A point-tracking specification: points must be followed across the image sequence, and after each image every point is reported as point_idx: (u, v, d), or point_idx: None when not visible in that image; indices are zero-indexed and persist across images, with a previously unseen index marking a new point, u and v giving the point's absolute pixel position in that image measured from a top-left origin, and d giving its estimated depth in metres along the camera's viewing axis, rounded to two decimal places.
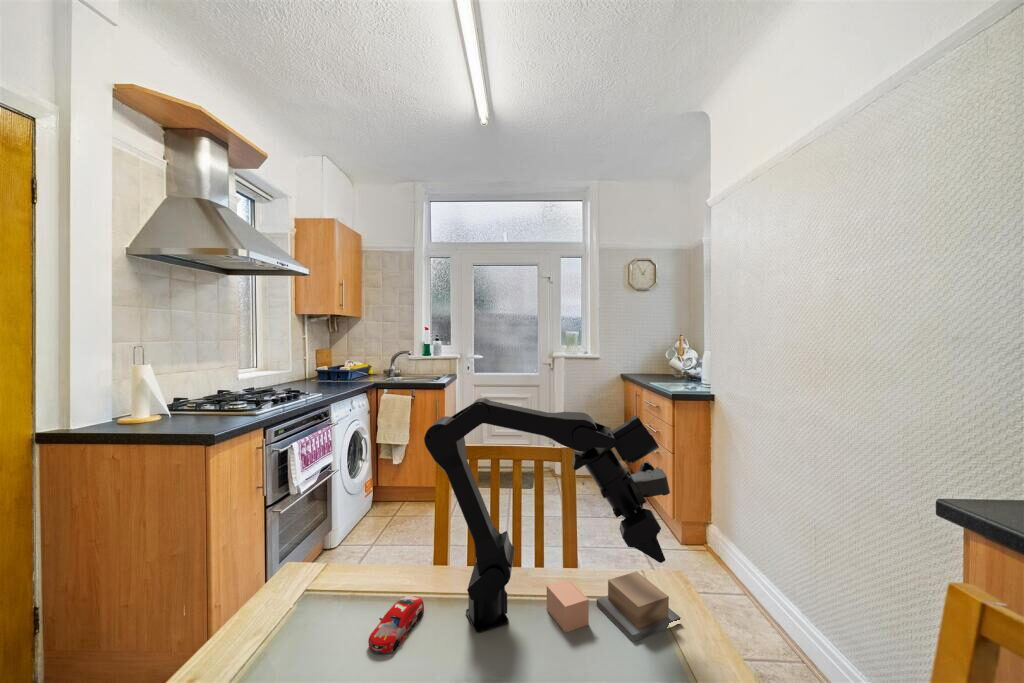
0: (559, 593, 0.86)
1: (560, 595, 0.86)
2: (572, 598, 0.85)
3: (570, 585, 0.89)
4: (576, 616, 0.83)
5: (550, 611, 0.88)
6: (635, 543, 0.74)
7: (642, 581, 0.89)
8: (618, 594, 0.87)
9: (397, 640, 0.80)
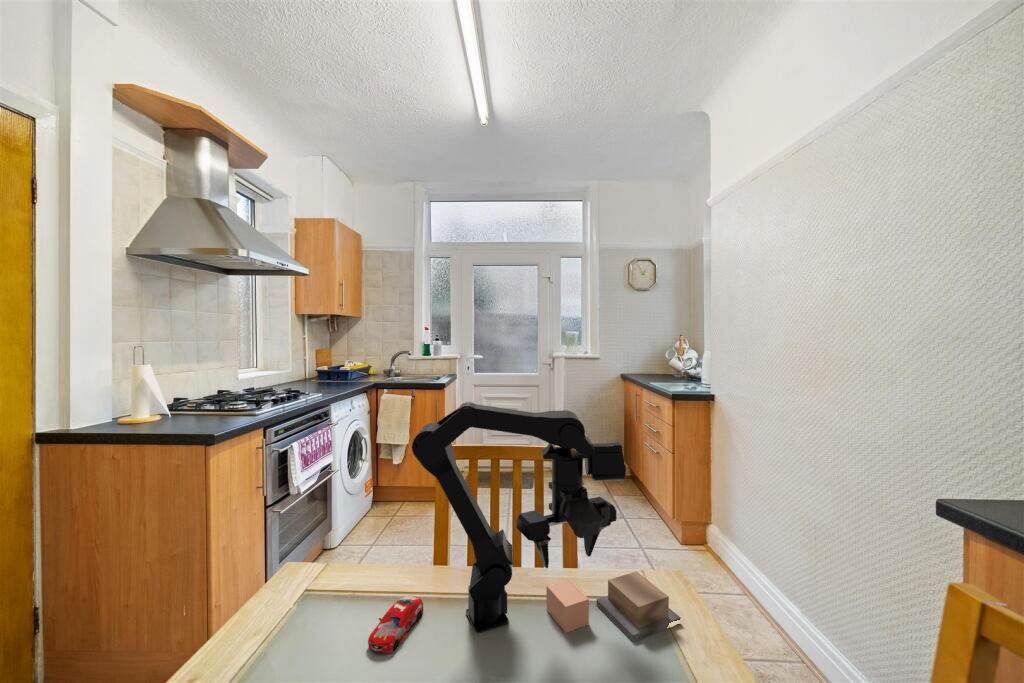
0: (559, 593, 0.86)
1: (560, 595, 0.86)
2: (573, 598, 0.85)
3: (570, 585, 0.89)
4: (576, 616, 0.83)
5: (550, 611, 0.88)
6: (518, 528, 0.83)
7: (642, 581, 0.89)
8: (618, 594, 0.87)
9: (397, 640, 0.79)
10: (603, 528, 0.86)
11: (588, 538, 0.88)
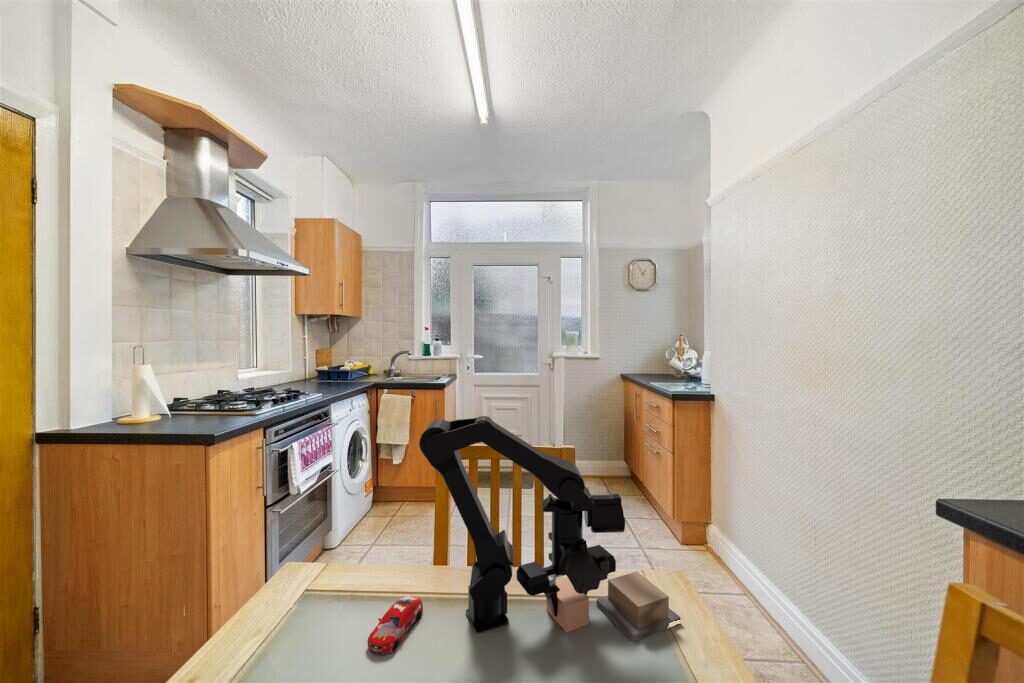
0: (559, 592, 0.86)
1: (560, 594, 0.86)
2: (573, 597, 0.85)
3: (570, 584, 0.89)
4: (576, 615, 0.83)
5: (550, 611, 0.88)
6: (518, 580, 0.84)
7: (642, 581, 0.89)
8: (618, 594, 0.87)
9: (397, 640, 0.79)
10: None
11: None
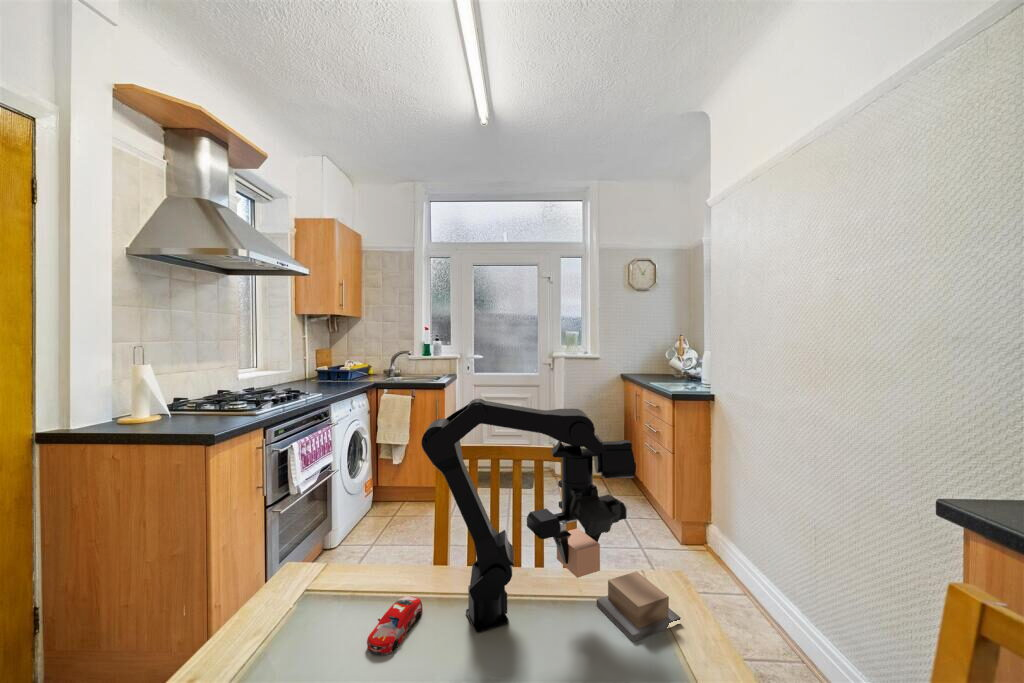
0: (570, 539, 0.86)
1: (570, 541, 0.85)
2: (583, 543, 0.84)
3: (580, 533, 0.88)
4: (587, 560, 0.83)
5: (560, 559, 0.87)
6: (528, 526, 0.83)
7: (642, 581, 0.89)
8: (618, 594, 0.87)
9: (396, 640, 0.79)
10: None
11: None
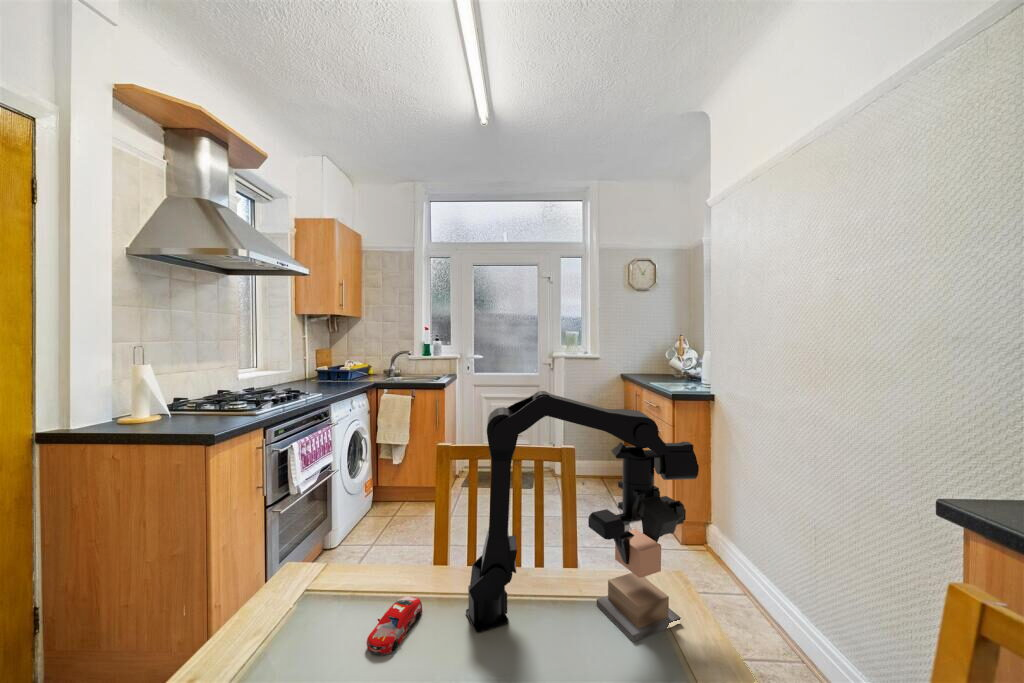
0: (630, 540, 0.86)
1: (631, 542, 0.85)
2: (645, 544, 0.84)
3: (639, 534, 0.88)
4: (649, 561, 0.83)
5: (620, 559, 0.87)
6: (590, 527, 0.84)
7: (642, 581, 0.89)
8: (618, 594, 0.87)
9: (396, 641, 0.79)
10: None
11: None
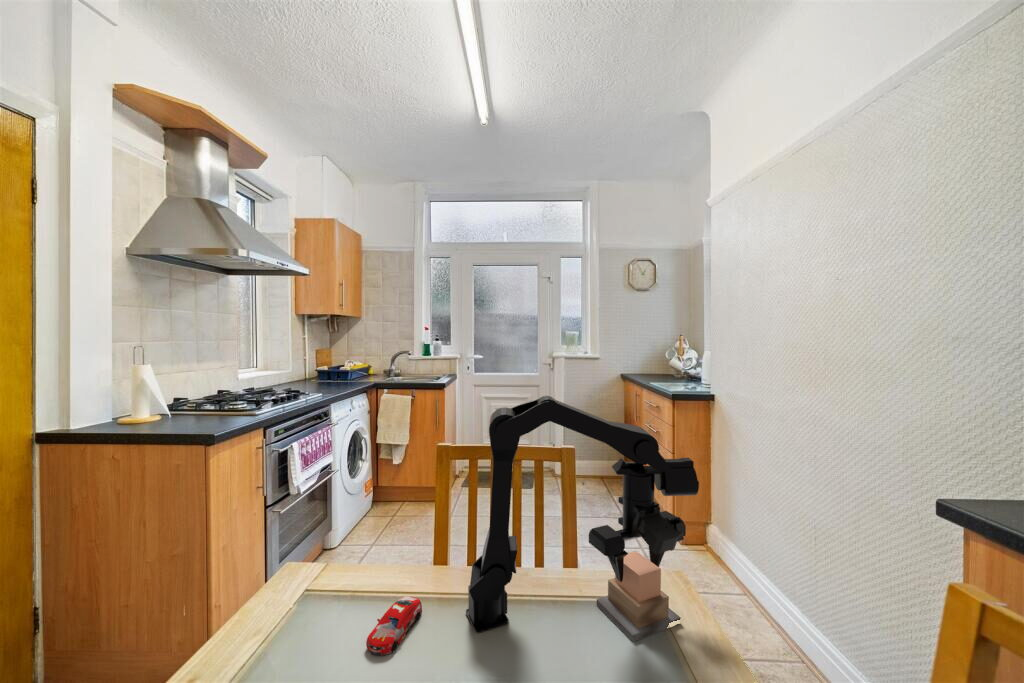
0: (630, 563, 0.86)
1: (631, 565, 0.86)
2: (644, 568, 0.85)
3: (639, 556, 0.89)
4: (649, 585, 0.84)
5: (620, 582, 0.88)
6: (591, 543, 0.84)
7: None
8: (618, 594, 0.87)
9: (396, 641, 0.79)
10: None
11: (655, 552, 0.88)
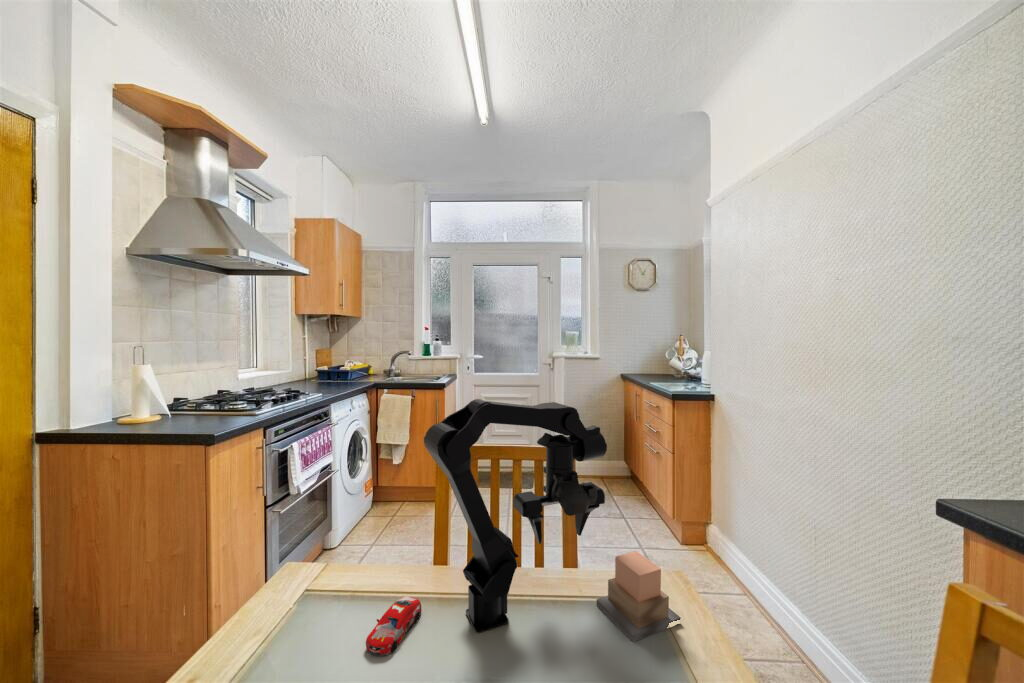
0: (630, 563, 0.86)
1: (631, 565, 0.86)
2: (644, 568, 0.85)
3: (639, 556, 0.89)
4: (649, 585, 0.84)
5: (620, 582, 0.88)
6: (514, 506, 0.92)
7: None
8: (618, 594, 0.87)
9: (395, 641, 0.79)
10: (592, 510, 0.95)
11: (579, 518, 0.96)
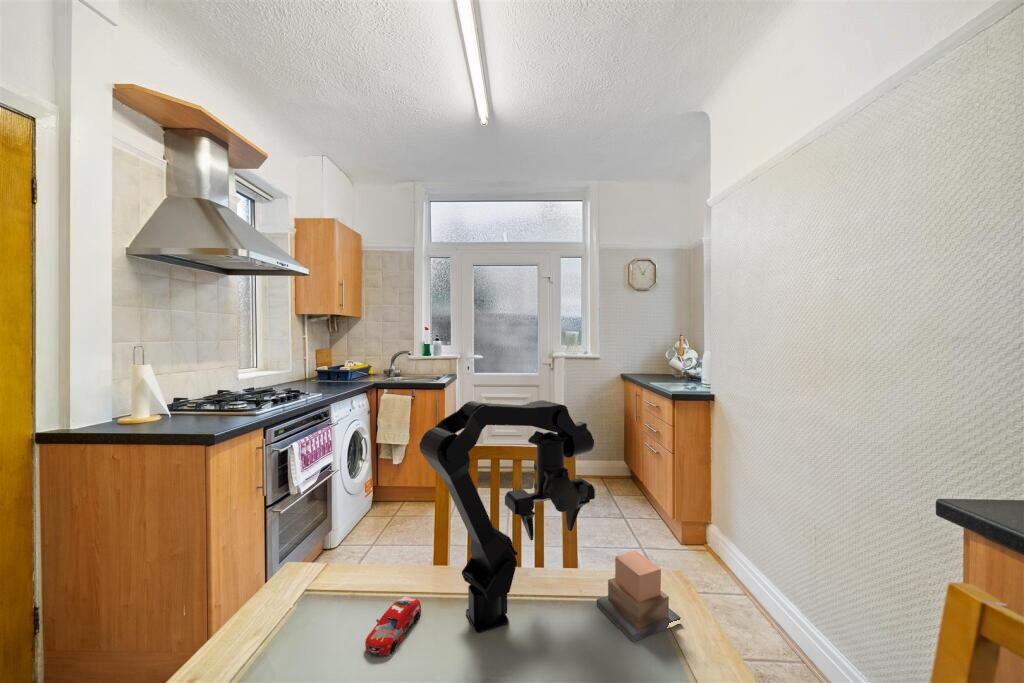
0: (630, 563, 0.86)
1: (631, 565, 0.86)
2: (644, 568, 0.85)
3: (639, 556, 0.89)
4: (649, 585, 0.84)
5: (620, 582, 0.88)
6: (506, 504, 0.93)
7: None
8: (618, 594, 0.87)
9: (394, 642, 0.79)
10: (583, 505, 0.96)
11: (570, 514, 0.98)
